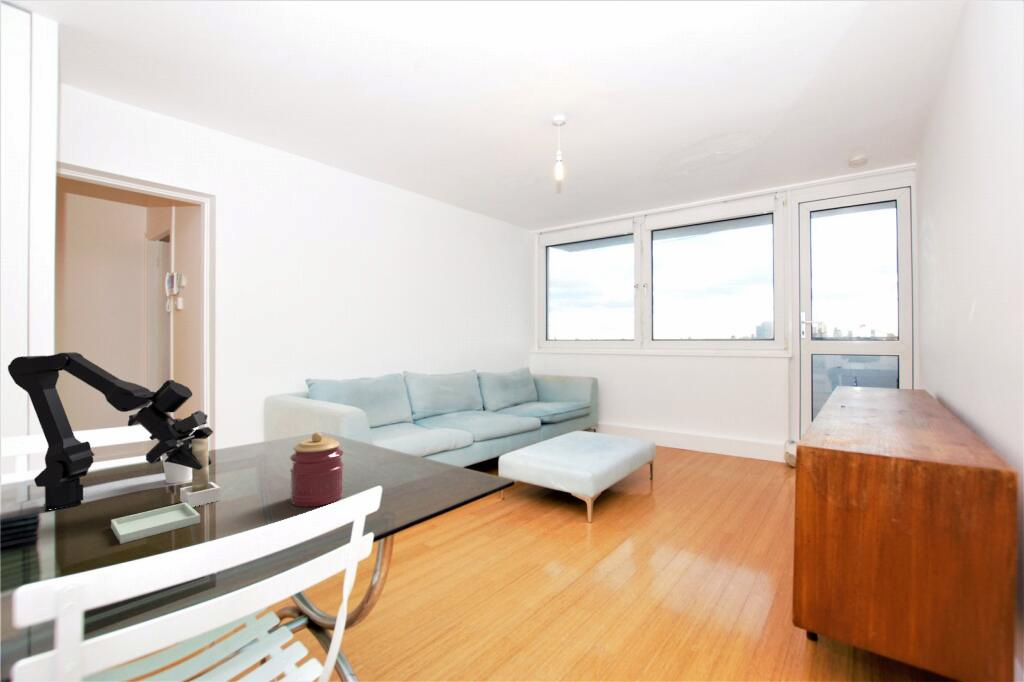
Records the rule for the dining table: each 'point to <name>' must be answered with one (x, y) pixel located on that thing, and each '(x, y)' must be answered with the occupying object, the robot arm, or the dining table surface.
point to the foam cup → (176, 471)
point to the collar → (200, 495)
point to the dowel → (201, 454)
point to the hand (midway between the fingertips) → (205, 466)
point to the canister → (316, 472)
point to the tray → (154, 522)
